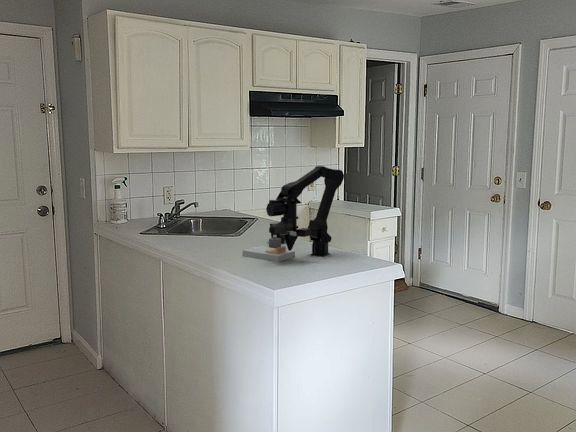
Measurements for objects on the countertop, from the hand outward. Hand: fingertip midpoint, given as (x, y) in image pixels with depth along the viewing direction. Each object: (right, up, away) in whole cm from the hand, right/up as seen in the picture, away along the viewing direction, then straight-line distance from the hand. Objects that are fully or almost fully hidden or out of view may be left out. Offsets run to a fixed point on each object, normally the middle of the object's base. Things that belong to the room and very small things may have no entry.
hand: (289, 250), depth 238 cm
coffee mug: (-6, +1, +37) cm, 37 cm away
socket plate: (-9, -3, +7) cm, 12 cm away
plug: (-7, -2, +18) cm, 19 cm away
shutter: (-6, -1, +5) cm, 8 cm away
